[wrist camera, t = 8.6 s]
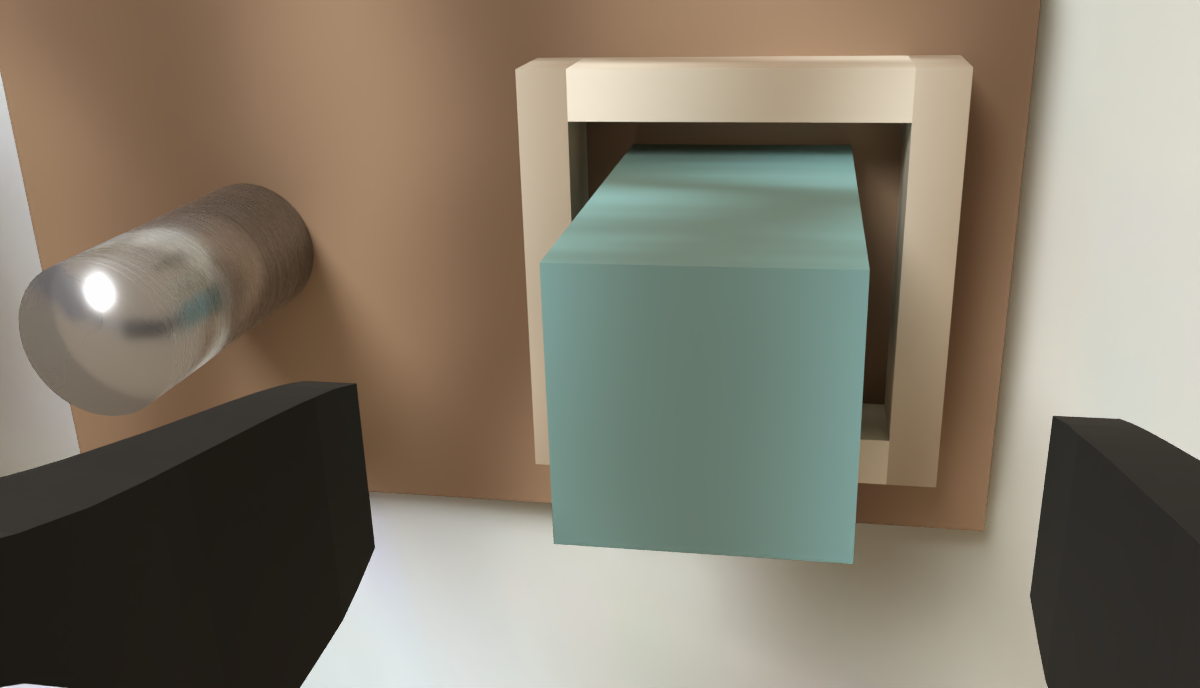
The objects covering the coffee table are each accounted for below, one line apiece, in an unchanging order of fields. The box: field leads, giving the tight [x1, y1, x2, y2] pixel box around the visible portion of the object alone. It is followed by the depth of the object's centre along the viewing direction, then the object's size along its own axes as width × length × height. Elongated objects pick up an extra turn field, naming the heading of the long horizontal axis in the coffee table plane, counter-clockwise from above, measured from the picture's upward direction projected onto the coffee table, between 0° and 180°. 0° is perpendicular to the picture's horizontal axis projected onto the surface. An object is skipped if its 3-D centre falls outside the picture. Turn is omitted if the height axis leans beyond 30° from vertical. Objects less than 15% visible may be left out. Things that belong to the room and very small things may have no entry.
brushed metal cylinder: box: [19, 183, 314, 416], centre depth 19 cm, size 2×2×5 cm
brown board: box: [0, 0, 1041, 531], centre depth 20 cm, size 18×10×2 cm, turn 92°
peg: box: [540, 144, 870, 564], centre depth 16 cm, size 4×4×7 cm
